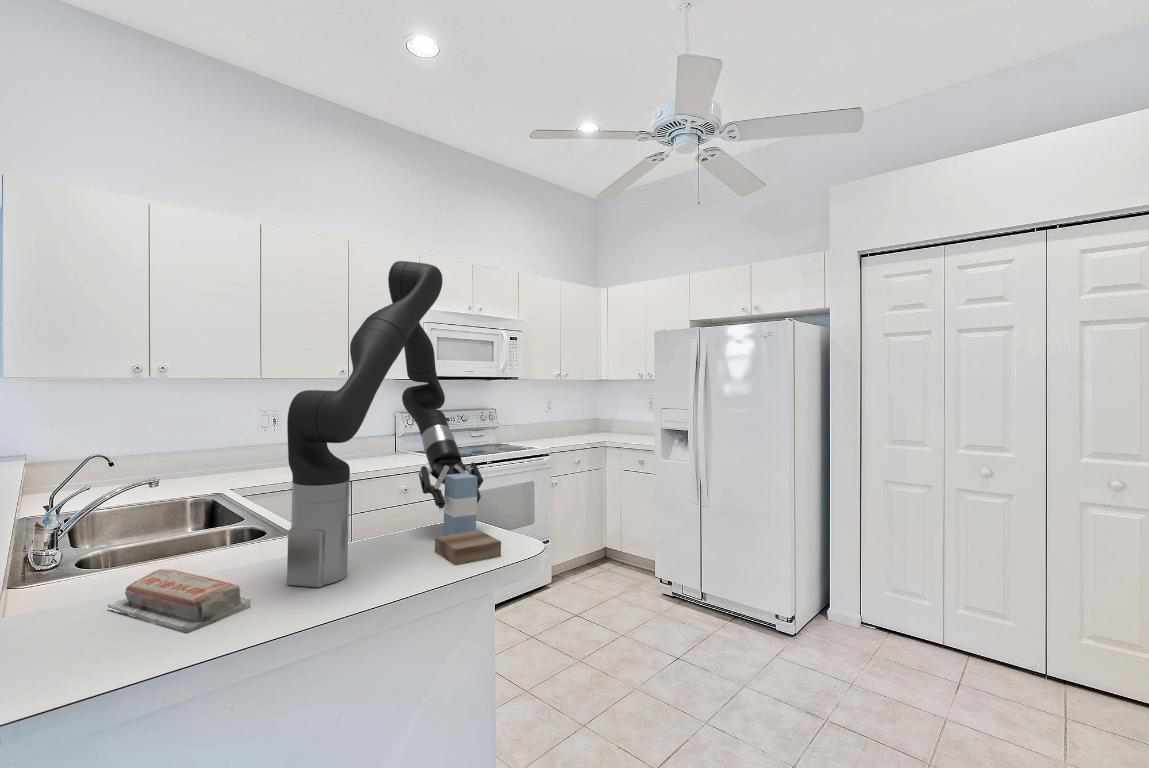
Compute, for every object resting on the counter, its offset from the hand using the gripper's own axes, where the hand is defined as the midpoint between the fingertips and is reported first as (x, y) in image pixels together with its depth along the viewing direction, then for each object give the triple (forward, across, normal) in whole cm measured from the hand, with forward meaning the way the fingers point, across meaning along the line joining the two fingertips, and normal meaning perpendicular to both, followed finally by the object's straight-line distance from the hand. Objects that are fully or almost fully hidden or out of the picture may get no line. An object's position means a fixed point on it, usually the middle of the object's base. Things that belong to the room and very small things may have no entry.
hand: (460, 504), depth 123 cm
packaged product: (+14, -51, -3) cm, 53 cm away
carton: (+5, 0, +5) cm, 8 cm away
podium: (+13, -4, -3) cm, 14 cm away
